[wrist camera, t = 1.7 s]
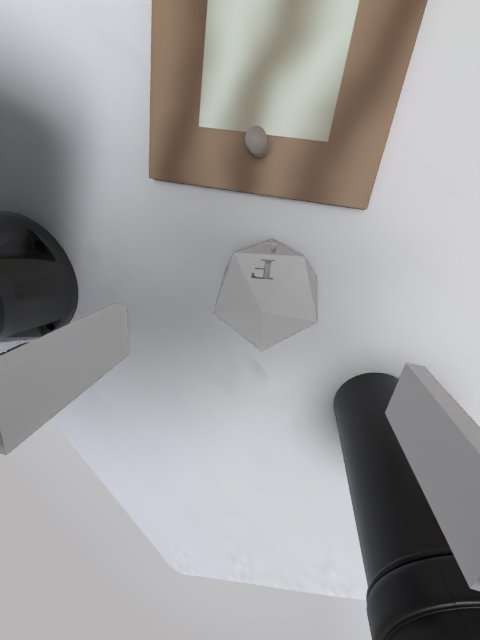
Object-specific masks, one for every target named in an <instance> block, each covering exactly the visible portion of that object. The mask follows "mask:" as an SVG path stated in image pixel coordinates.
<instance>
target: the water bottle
mask: <svg viewBox="0 0 480 640" xmlns="http://www.w3.org/2000/svg"><path fill="white" fill-rule="evenodd" d="M398 381H399V379H397V378H395V377H393V376H390V375H387V374H382V373H367V374H362V375H359V376H356V377H354V378H352V379H350V380H348V381H347V382H346V383H344V384H343V385H342V386H341V387H340V389H339V390H338V392H337V393H336V396H335V399H334V411H335V416H336V421H337V427H338V432H339V437H340V442H341V447H342V453H343V458H344V463H345V468H346V474H347V479H348V484H349V489H350V495H351V500H352V505H353V510H354V516H355V521H356V526H357V531H358V537H359V542H360V547H361V552H362V558H363V563H364V568H365V573H366V579H367V584H368V590H367V596H366V600H367V615H368V620H369V626H370V631H371V636H372V640H480V591H477V590H474V589H470V587H469V585H468V583H467V581H466V579H465V577H464V575H463V573H462V571H461V569H460V567H459V565H458V563H457V561H456V558H455V556H454V554H453V552H452V550H451V548H450V546H449V544H448V542H447V540H446V538H445V536H444V534H443V532H442V530H441V528H440V525H439V523H438V521H437V519H436V517H435V515H434V513H433V511H432V509H431V507H430V505H429V503H428V501H427V499H426V497H425V495H424V493H423V490H422V488H421V486H420V484H419V482H418V480H417V478H416V476H415V474H414V472H413V470H412V468H411V466H410V464H409V462H408V460H407V458H406V455H405V453H404V451H403V449H402V447H401V445H400V443H399V441H398V439H397V437H396V435H395V433H394V431H393V429H392V427H391V425H390V423H389V420H388V418H387V416H386V414H385V412H386V409H387V407H388V404H389V402H390V400H391V397H392V395H393V393H394V390H395V388H396V385H397V383H398Z"/></svg>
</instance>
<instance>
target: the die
mask: <svg viewBox="0 0 480 640" xmlns="http://www.w3.org/2000/svg"><path fill="white" fill-rule="evenodd" d="M213 313H214V314H215V315H217V316H218V317H219V318H220V319H222V320H223V321H224V322H225V323H227V324H228V325H229V326H230V327H232V328H233V329H234V330H236V331H237V332H238V333H239V334H241V335H242V336H243V337H244V338H246V339H247V340H248V341H249V342H251V343H252V344H253V345H254V346H256V347H257V348H258V349H259V350H261V351H263V350H265V349H267V348H269V347H271V346H272V345H274V344H276V343H278V342H280V341H282V340H284V339H286V338H288V337H290V336H292V335H294V334H296V333H297V332H299V331H301V330H303V329H305V328H307V327H309V326H311V325H313V324H315V323H317V322H318V318H317V276H316V274H315V273H314V271H313V270H312V268H311V267H310V265H309V263H308V262H307V260H306V259H305V257H304V256H302V255H300V254H299V253H297V252H295V251H293V250H292V249H290V248H288V247H286V246H284V245H283V244H281V243H279V242H277V241H276V240H274V239H271V240H268V241H265V242H262V243H260V244H256V245H254V246H251V247H248V248H245V249H242V250H240V251H237V252H234V253H233V255H232V257H231V259H230V262H229V264H228V266H227V268H226V270H225V273H224V277H223V280H222V284H221V287H220V291H219V294H218V298H217V301H216V305H215V308H214V311H213Z"/></svg>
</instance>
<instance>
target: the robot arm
mask: <svg viewBox="0 0 480 640" xmlns="http://www.w3.org/2000/svg"><path fill="white" fill-rule="evenodd" d="M77 303H78V285H77V280H76V276H75V273H74V270H73V267H72V265H71V262H70V260H69V258H68V256H67V255H66V253H65V251H64V250H63V248H62V247H61V246H60V244H59V243H58V242H57V241H56V239H55V238H54V237H53V236H52V235H51V234H50V233H49V232H48V231H47V230H45V229H44V228H43V227H42V226H40V225H39V224H37V223H36V222H34V221H32V220H31V219H29V218H26V217H24V216H22V215H18V214H15V213H9V212H0V342H9V341H17V340H26V339H35V338H37V339H35V340H33V341H31V342H28V343H24V344H20V345H18V346H16V347H14V348H12V349H9V350H7V352H3V353H1V354H0V453H1V454H4V455H7V454H8V453H10V452H11V451H12V450H13V449H15V448H16V447H17V446H18V445H19V444H21V443H22V442H23V441H24V440H26V439H27V438H28V437H29V436H30V435H32V434H33V433H34V432H35V431H37V430H38V429H39V428H40V427H41V426H43V425H44V424H45V423H46V422H47V421H49V420H50V419H51V418H52V417H54V416H55V415H56V414H57V413H58V412H60V411H61V410H62V409H63V408H65V407H66V406H67V405H68V404H69V403H71V402H72V401H73V400H74V399H76V398H77V397H78V396H79V395H80V394H82V393H83V392H84V391H85V390H86V389H88V388H89V387H90V386H91V385H93V384H94V383H95V382H96V381H97V380H99V379H100V378H101V377H102V376H104V375H105V374H106V373H107V372H108V371H110V370H111V369H112V368H113V367H115V366H116V365H117V364H118V363H119V362H121V361H122V360H123V359H124V358H125V357H127V356H128V306H124V305H119V304H114V303H113V304H111V305H109V306H107V307H105V308H102V309H100V310H98V311H96V312H94V313H92V314H89V315H87V316H85V317H83V318H81V319H79V320H76V321H74V322H72V323H70V324H68V323H69V322H70V321H71V319H72V318H73V316H74V314H75V311H76V308H77ZM67 324H68V325H67ZM385 414H386V416H387V418H388V420H389V423H390V425H391V427H392V429H393V431H394V433H395V435H396V437H397V439H398V441H399V443H400V445H401V447H402V449H403V451H404V453H405V455H406V458H407V460H408V462H409V464H410V466H411V468H412V470H413V472H414V474H415V476H416V478H417V480H418V482H419V484H420V486H421V488H422V490H423V493H424V495H425V497H426V499H427V501H428V503H429V505H430V507H431V509H432V511H433V513H434V515H435V517H436V519H437V521H438V523H439V525H440V528H441V530H442V532H443V534H444V536H445V538H446V540H447V542H448V544H449V546H450V548H451V550H452V552H453V554H454V556H455V558H456V561H457V563H458V565H459V567H460V569H461V571H462V573H463V575H464V577H465V579H466V581H467V583H468V585H469V587H470V589H474V590H477V591H480V427H479V426H478V425H477V424H476V423H475V421H474V420H473V419H472V418H471V417H470V416H469V415H468V414H467V413H466V412H465V410H464V409H463V408H462V407H461V406H460V405H459V404H458V403H457V402H456V401H455V399H454V398H453V397H452V396H451V395H450V394H449V393H448V392H447V391H446V390H445V389H444V387H443V386H442V385H441V384H440V383H439V382H438V381H437V380H436V379H435V378H434V376H433V375H432V374H431V373H430V372H429V371H428V370H427V369H426V368H425V367H424V366H419V365H414V364H409V363H406V364H405V366H404V369H403V371H402V373H401V376H400V378H399V381H398V383H397V385H396V388H395V390H394V393H393V395H392V397H391V400H390V402H389V404H388V407H387V409H386V412H385Z"/></svg>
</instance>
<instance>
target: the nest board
mask: <svg viewBox="0 0 480 640" xmlns="http://www.w3.org/2000/svg"><path fill="white" fill-rule="evenodd" d="M427 1H428V0H152V28H151V91H150V154H149V178H152V179H155V180H162V181H169V182H176V183H182V184H189V185H196V186H203V187H210V188H217V189H224V190H231V191H238V192H245V193H252V194H259V195H266V196H273V197H279V198H286V199H293V200H300V201H307V202H314V203H321V204H328V205H335V206H342V207H349V208H356V209H363V210H364V209H367V207H368V203H369V200H370V196H371V193H372V189H373V186H374V183H375V179H376V176H377V172H378V169H379V165H380V162H381V159H382V155H383V152H384V148H385V145H386V141H387V138H388V135H389V131H390V128H391V124H392V121H393V117H394V114H395V110H396V107H397V104H398V100H399V97H400V93H401V90H402V86H403V83H404V80H405V76H406V73H407V69H408V66H409V62H410V59H411V56H412V52H413V49H414V45H415V42H416V38H417V35H418V31H419V28H420V25H421V21H422V18H423V14H424V11H425V7H426V4H427Z"/></svg>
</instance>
